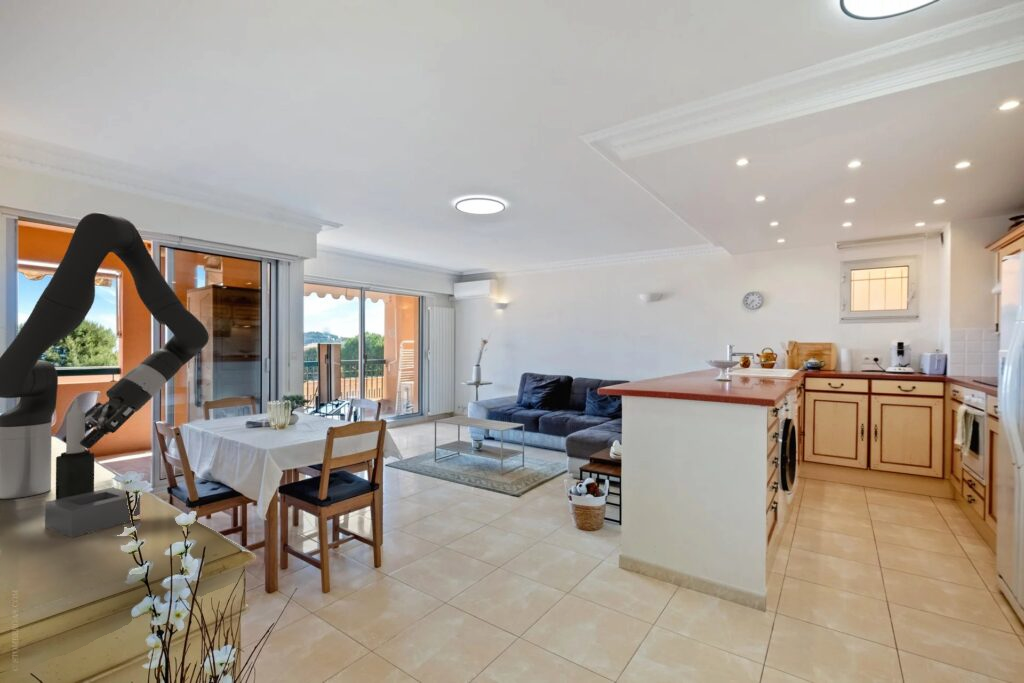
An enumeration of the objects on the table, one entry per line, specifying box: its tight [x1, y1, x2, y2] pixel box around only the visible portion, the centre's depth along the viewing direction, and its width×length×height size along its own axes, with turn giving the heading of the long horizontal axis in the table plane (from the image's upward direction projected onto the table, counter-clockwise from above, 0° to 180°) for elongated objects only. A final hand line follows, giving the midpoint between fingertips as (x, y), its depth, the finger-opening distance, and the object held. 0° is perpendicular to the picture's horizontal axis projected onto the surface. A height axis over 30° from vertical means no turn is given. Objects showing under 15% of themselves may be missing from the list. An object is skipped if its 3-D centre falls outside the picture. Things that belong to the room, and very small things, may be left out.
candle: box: [55, 398, 95, 500], centre depth 101 cm, size 5×5×25 cm
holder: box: [44, 487, 141, 538], centre depth 95 cm, size 12×11×5 cm
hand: (74, 444), depth 101 cm, fingers open, 8 cm apart
